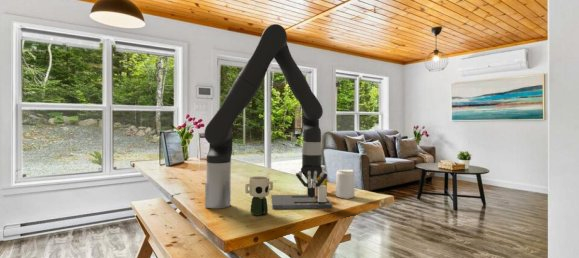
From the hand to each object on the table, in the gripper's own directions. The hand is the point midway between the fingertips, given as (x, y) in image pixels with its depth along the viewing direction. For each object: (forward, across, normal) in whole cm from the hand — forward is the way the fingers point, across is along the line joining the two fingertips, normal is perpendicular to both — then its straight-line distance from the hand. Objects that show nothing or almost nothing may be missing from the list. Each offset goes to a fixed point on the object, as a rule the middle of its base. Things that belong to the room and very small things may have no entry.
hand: (311, 196), depth 120 cm
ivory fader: (+2, +4, 0) cm, 5 cm away
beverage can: (+4, +18, +14) cm, 23 cm away
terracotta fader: (+2, +5, +9) cm, 10 cm away
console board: (+4, -4, +4) cm, 7 cm away
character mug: (+4, -20, -9) cm, 23 cm away
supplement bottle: (+4, +8, +22) cm, 24 cm away
